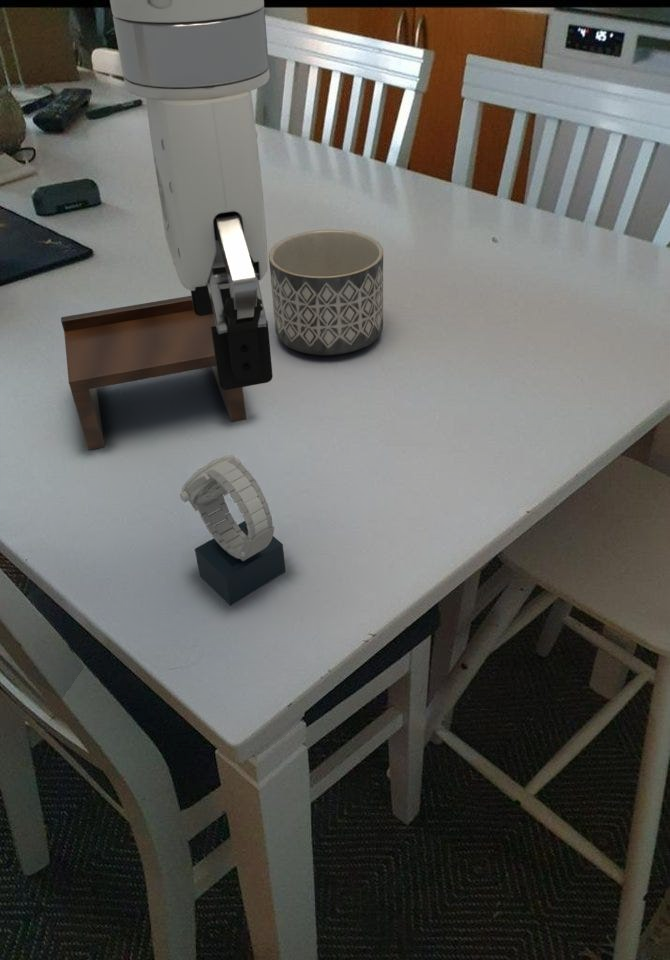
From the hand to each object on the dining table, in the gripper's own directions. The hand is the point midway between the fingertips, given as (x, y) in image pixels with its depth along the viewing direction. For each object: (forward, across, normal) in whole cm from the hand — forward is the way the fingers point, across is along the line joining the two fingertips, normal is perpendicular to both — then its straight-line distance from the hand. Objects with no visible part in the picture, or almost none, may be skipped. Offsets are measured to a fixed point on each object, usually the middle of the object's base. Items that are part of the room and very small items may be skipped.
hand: (230, 345), depth 52 cm
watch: (+22, -1, -1) cm, 22 cm away
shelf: (+22, -28, -5) cm, 36 cm away
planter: (+22, -36, +16) cm, 45 cm away
